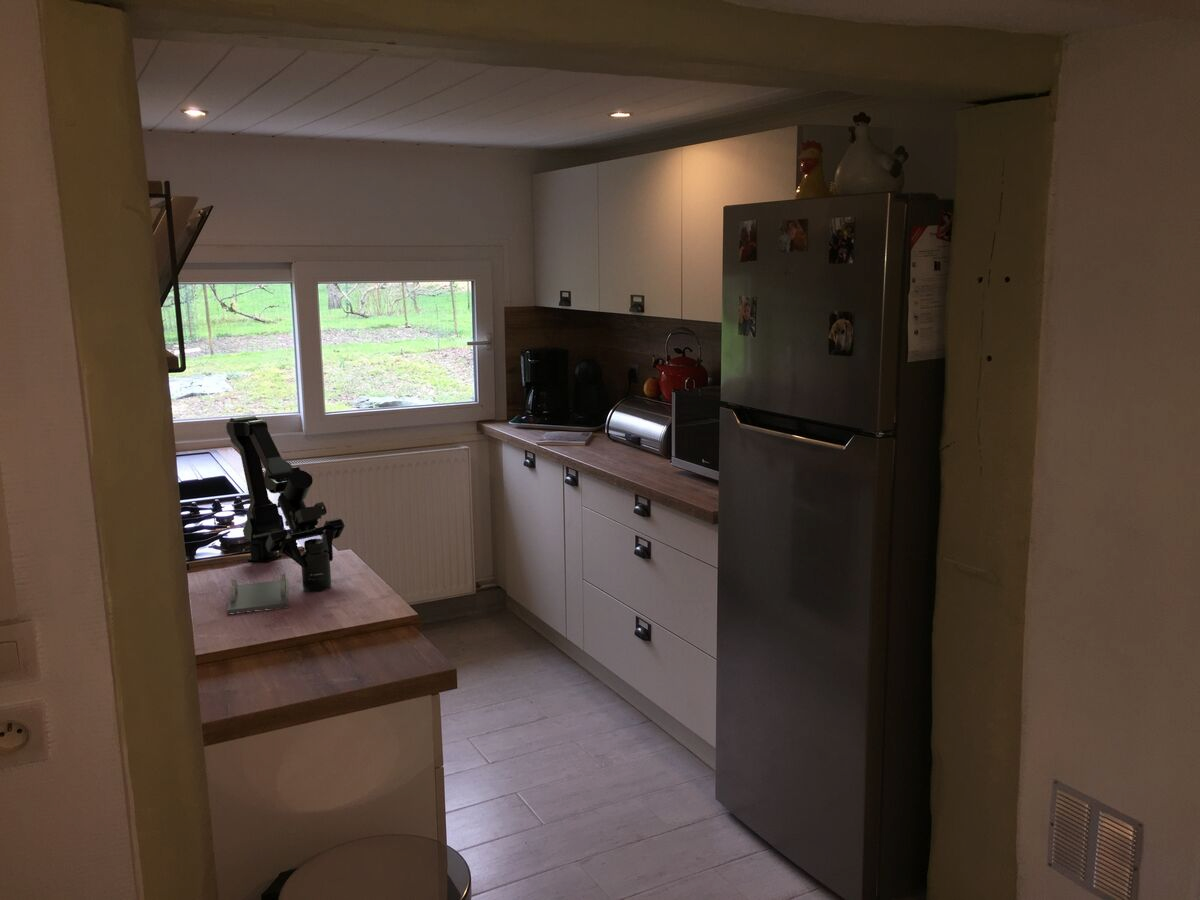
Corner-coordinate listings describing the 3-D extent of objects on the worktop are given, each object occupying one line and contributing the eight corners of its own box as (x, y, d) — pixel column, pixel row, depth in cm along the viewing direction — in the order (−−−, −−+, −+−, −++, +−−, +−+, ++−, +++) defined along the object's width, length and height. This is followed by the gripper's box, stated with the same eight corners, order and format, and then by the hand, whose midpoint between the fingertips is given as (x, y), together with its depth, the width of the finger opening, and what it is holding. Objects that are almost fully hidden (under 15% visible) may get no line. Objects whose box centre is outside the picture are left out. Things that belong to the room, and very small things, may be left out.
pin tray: (233, 590, 239) (231, 571, 238) (288, 583, 242) (286, 565, 241) (227, 614, 222) (225, 595, 221) (287, 608, 225) (285, 588, 224)
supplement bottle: (314, 594, 234) (310, 546, 232) (297, 589, 238) (293, 542, 236) (337, 586, 239) (334, 539, 237) (320, 581, 244) (316, 535, 241)
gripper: (266, 500, 231) (289, 554, 225) (338, 486, 243) (362, 537, 237) (256, 525, 239) (278, 578, 233) (327, 511, 251) (349, 561, 245)
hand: (318, 563), depth 237 cm, fingers closed on supplement bottle, 7 cm apart
